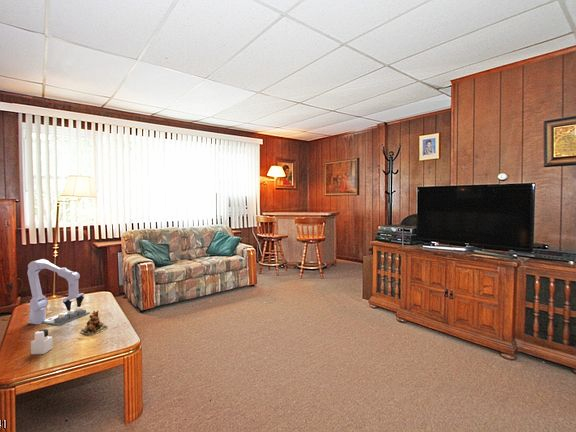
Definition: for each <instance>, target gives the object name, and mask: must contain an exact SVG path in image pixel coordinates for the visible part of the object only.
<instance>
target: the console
mask: <svg viewBox="0 0 576 432" xmlns="http://www.w3.org/2000/svg"><path fill="white" fill-rule="evenodd" d="M73 310H74V309H73ZM63 313H65V318H62V319H58V314H55V315H53V316H50V317H46V320H44V321H43V322H42V323H41V324H44V325H53V326H61V325H64V324H66V323H69V322H72V321H74V320H76V319H79V318H82V317H84V316H86V315H91V314H90V312H89V311H87V310H86V309H83V311H81V312H76V309H75V310H74V314H73V315H67V311H63Z"/></svg>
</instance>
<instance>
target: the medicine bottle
mask: <svg viewBox="0 0 576 432" xmlns="http://www.w3.org/2000/svg"><path fill="white" fill-rule="evenodd" d="M52 349H53V336H49V329H45V328H43V329H39V330H37V331H36V330H35V332H34V339H33V340H31V341H30V354H31V355H45V354H47V352H49V351H50V350H52Z"/></svg>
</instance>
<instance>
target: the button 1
mask: <svg viewBox="0 0 576 432" xmlns="http://www.w3.org/2000/svg"><path fill="white" fill-rule="evenodd" d="M57 315H58V319H62V318H65V313H64V312H61V313H58V314H57Z"/></svg>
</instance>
